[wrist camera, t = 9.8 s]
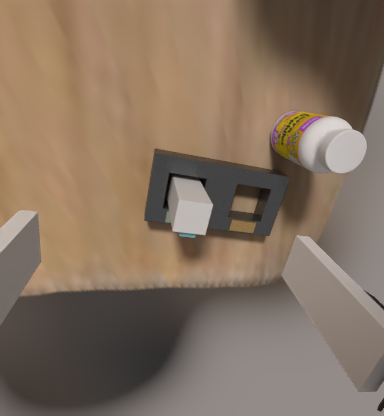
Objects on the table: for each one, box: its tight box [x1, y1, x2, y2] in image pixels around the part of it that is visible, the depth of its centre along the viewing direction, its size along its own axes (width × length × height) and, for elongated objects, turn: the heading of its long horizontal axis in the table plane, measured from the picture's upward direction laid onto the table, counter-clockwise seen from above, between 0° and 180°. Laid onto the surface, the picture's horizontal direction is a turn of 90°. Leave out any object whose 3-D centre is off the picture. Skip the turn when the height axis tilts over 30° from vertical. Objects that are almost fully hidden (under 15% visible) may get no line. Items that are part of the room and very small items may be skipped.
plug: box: [167, 173, 213, 238], centre depth 36 cm, size 5×4×11 cm
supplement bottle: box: [271, 111, 367, 174], centre depth 34 cm, size 7×7×13 cm
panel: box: [144, 149, 290, 236], centre depth 41 cm, size 10×20×3 cm, turn 78°
